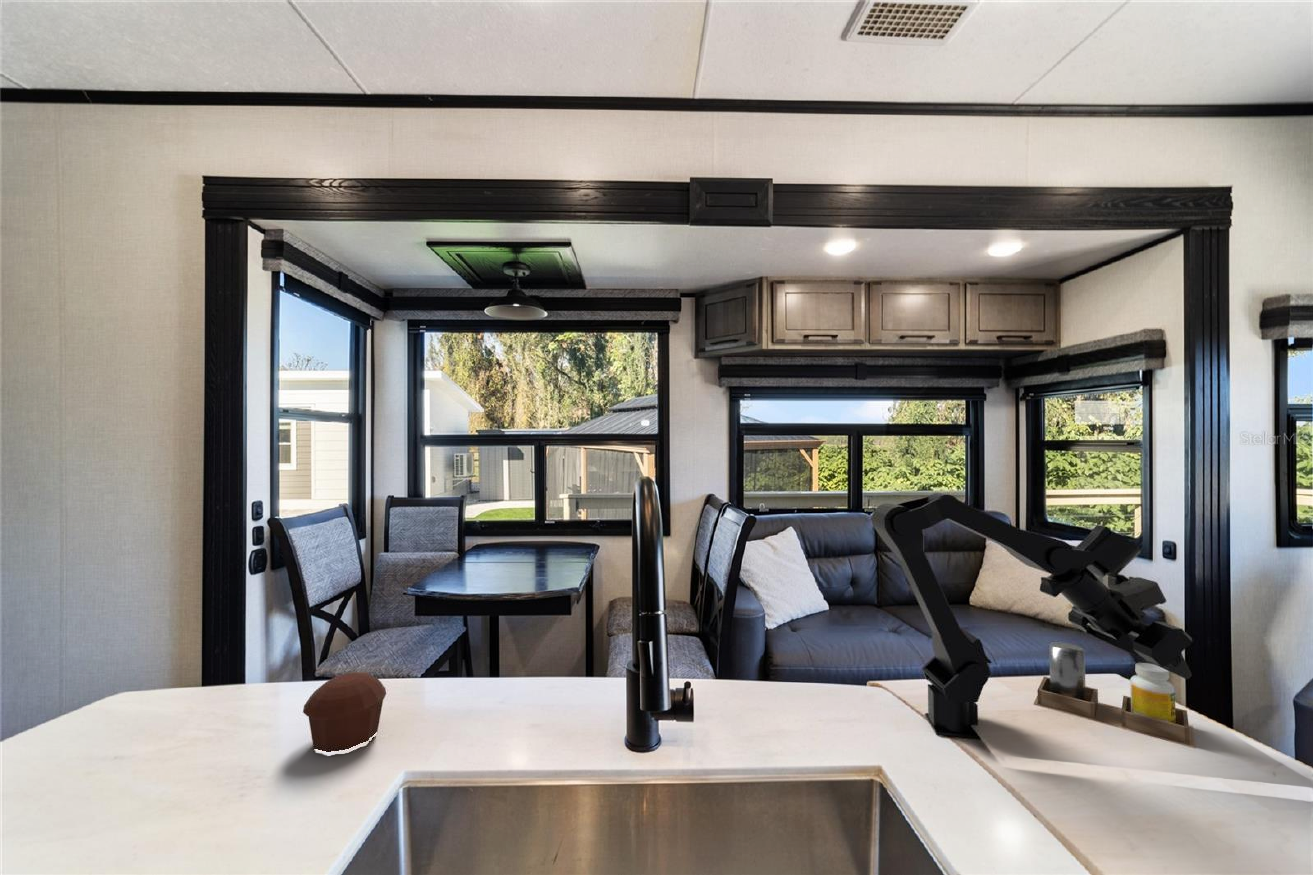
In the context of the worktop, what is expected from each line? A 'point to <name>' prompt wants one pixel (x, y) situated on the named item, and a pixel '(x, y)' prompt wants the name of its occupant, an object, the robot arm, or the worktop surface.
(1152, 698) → the supplement bottle
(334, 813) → the worktop surface
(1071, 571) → the robot arm
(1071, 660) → the graphite billet
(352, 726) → the muffin
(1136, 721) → the wooden compartment tray
